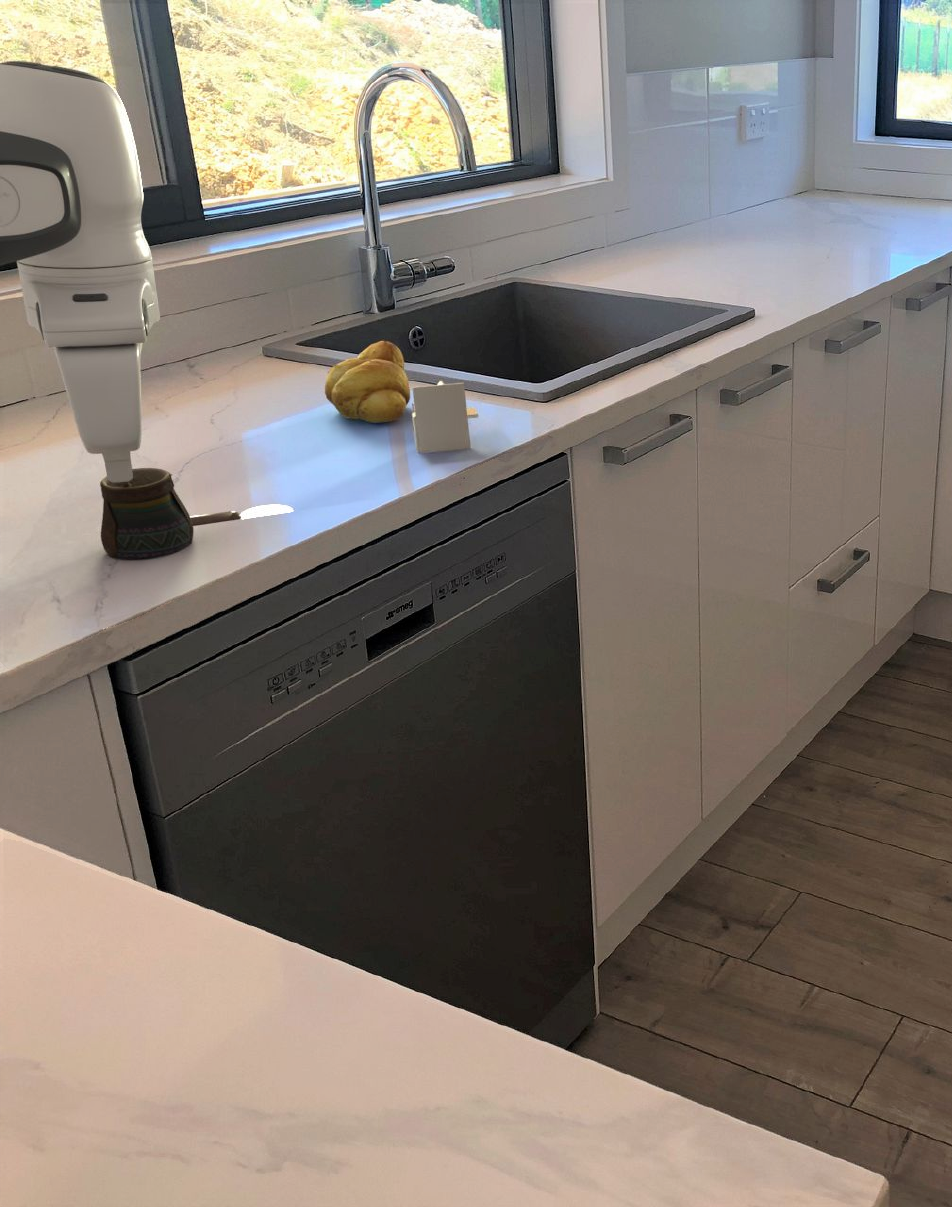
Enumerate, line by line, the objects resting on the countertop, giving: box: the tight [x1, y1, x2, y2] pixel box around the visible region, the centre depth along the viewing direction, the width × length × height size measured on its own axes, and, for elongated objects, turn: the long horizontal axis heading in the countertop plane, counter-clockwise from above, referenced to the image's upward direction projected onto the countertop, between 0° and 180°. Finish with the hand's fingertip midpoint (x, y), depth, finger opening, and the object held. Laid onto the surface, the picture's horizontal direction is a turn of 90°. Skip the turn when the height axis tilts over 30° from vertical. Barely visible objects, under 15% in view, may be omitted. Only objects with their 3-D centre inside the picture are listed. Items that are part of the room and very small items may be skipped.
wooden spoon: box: [189, 504, 294, 527], centre depth 122 cm, size 14×5×2 cm, turn 116°
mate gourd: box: [99, 467, 194, 561], centre depth 113 cm, size 7×8×10 cm
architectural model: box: [411, 380, 479, 454], centre depth 146 cm, size 3×7×7 cm, turn 112°
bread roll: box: [324, 340, 411, 424], centre depth 157 cm, size 13×10×8 cm
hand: (120, 476), depth 103 cm, fingers closed
